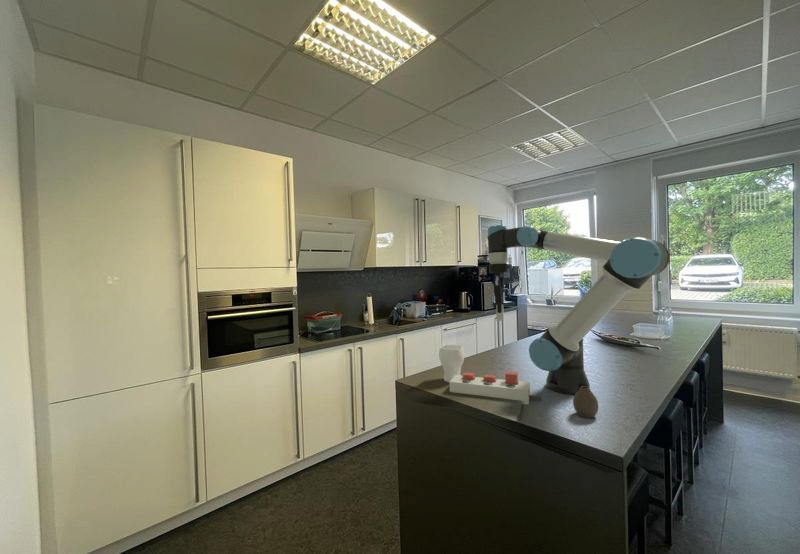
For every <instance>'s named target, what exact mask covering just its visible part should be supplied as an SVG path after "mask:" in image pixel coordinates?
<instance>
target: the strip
mask: <svg viewBox="0 0 800 554" xmlns="http://www.w3.org/2000/svg"><path fill="white" fill-rule="evenodd" d="M448 383H449V393H457V394H462V395H463V394H464V395H472V396H473V395H474V396H480V397H481V396H482V397H489V398H497V399H505V400H506V399H507V400H513V401H521V404H522V405H530V400H539V401H542V396H540V395H535V394H534V395H533V394H531V389H530V388H531V387H530V385H531V384H530V382H529V381H523V380H522V381H520V380H518V383H517V385H516V384H507V383H506V380H505V379H501V378H496V382H495V383H494V382H485V381H484V377H479V376H475V379H474V380H465V379H463V375H461V374H460V375H455V376H454V377H453V378H452V380H451V381H450V382H448Z"/></svg>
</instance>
